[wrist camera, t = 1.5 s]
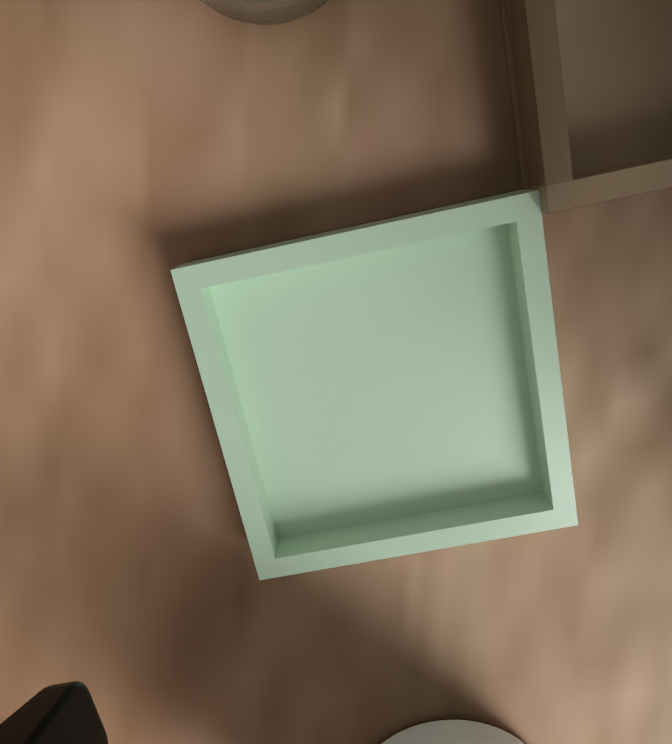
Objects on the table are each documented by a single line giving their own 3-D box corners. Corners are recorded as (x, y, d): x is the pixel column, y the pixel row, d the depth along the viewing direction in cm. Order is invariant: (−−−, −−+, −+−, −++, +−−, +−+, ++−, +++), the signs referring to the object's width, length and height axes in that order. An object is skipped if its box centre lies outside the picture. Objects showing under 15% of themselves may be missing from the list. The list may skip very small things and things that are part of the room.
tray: (523, 189, 16) (538, 190, 15) (561, 500, 19) (578, 525, 17) (184, 262, 17) (170, 269, 16) (265, 552, 19) (259, 580, 18)
